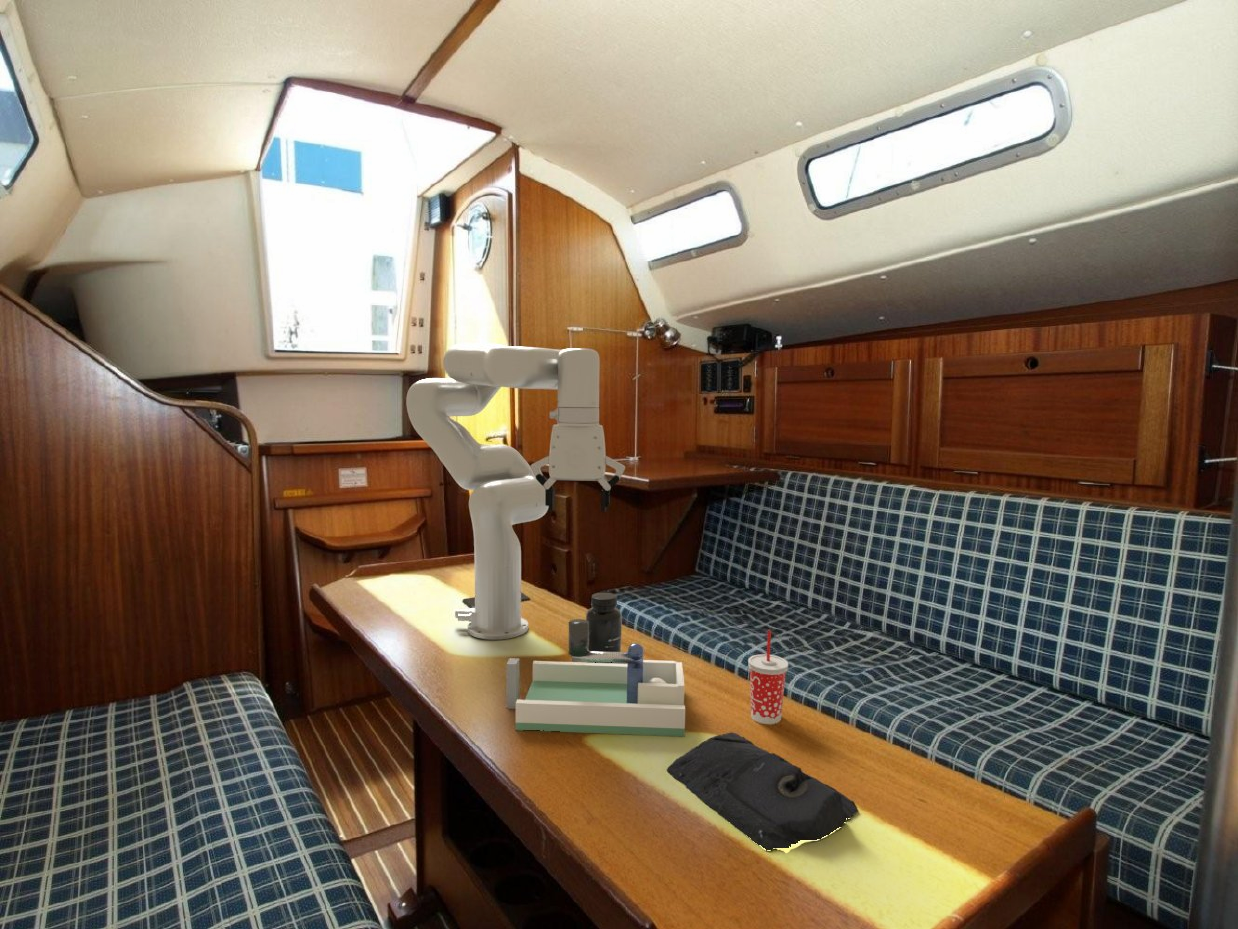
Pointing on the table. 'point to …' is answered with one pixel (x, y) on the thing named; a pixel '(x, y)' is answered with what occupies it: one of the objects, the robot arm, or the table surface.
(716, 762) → the dark slate chunk
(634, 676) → the table football player
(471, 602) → the smartphone
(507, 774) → the table surface
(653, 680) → the ball
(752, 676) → the beverage cup
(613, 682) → the pitch
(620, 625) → the supplement bottle
